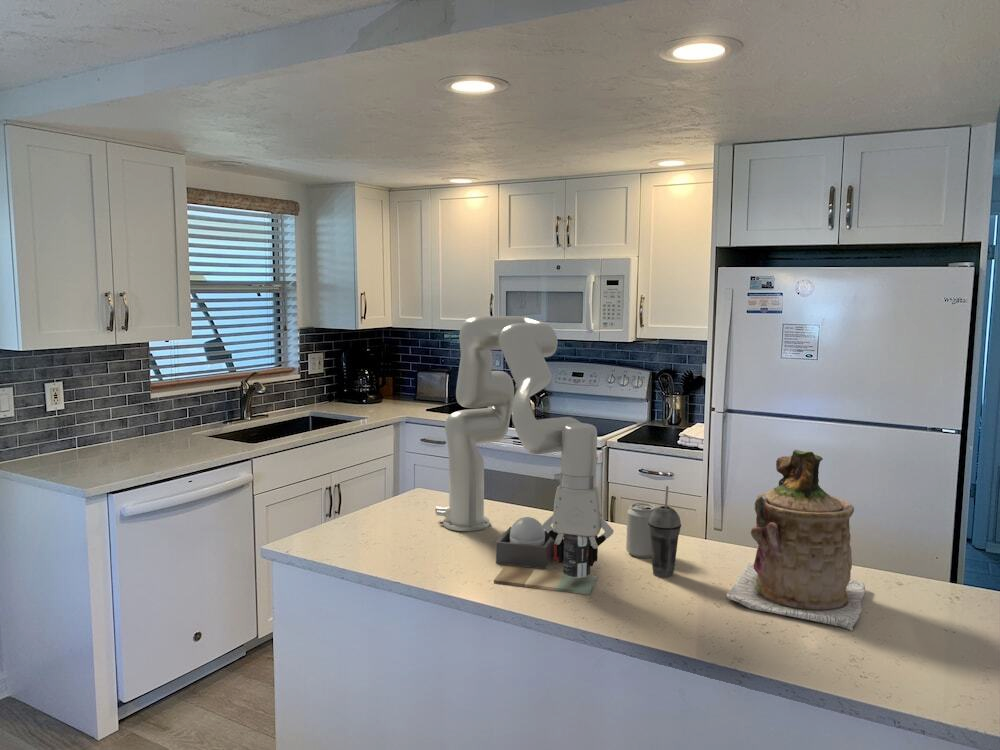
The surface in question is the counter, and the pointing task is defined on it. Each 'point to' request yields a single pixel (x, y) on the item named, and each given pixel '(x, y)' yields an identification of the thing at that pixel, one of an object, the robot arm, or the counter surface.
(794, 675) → the counter surface
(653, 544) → the beverage cup
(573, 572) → the pill bottle
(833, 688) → the counter surface
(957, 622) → the counter surface
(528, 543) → the dome
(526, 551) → the box
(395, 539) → the counter surface
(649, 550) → the can
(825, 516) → the cookie jar
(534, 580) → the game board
